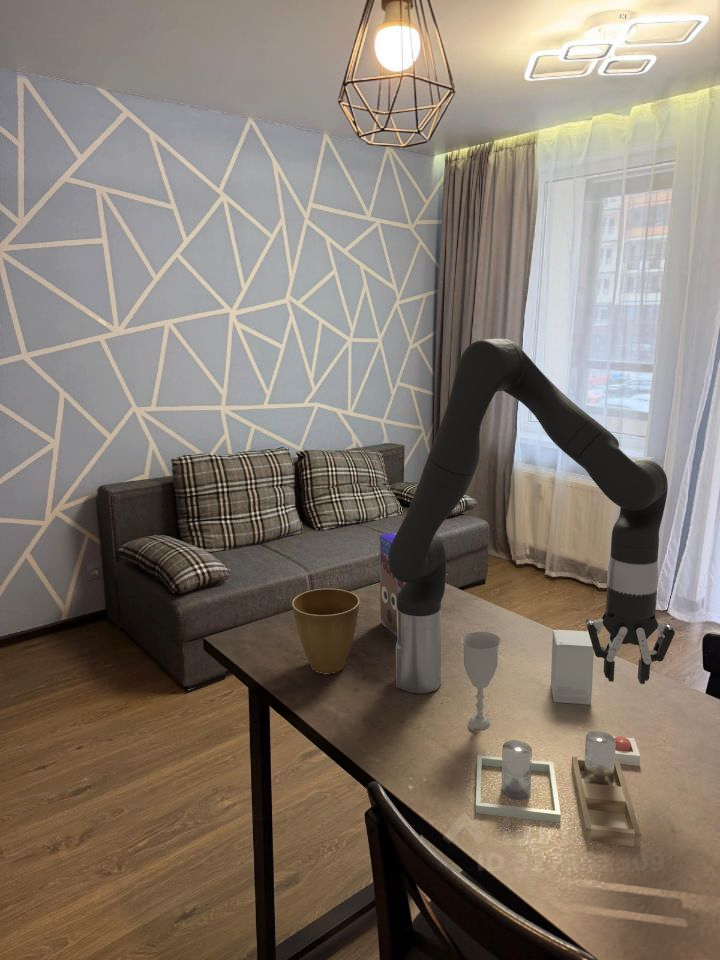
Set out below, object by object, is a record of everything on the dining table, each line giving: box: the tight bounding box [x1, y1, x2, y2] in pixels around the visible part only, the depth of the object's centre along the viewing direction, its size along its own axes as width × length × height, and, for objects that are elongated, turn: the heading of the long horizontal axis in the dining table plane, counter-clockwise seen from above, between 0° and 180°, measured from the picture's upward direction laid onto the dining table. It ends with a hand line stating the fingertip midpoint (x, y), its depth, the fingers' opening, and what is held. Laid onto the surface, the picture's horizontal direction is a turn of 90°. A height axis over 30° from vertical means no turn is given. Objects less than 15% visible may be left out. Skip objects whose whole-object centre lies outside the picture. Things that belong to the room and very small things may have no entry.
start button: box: [614, 735, 630, 752], centre depth 112 cm, size 3×3×2 cm
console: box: [612, 735, 641, 767], centre depth 112 cm, size 5×5×3 cm
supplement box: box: [550, 629, 595, 706], centre depth 132 cm, size 7×7×13 cm
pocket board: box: [571, 755, 642, 848], centre depth 101 cm, size 7×17×3 cm, turn 169°
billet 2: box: [583, 730, 616, 786], centre depth 104 cm, size 4×4×8 cm
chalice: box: [460, 631, 502, 732], centre depth 121 cm, size 7×7×18 cm
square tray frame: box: [475, 754, 562, 823], centre depth 104 cm, size 12×12×2 cm
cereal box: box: [378, 532, 406, 637], centre depth 160 cm, size 17×5×24 cm, turn 25°
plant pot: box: [291, 588, 361, 673], centre depth 146 cm, size 15×15×16 cm
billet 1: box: [501, 739, 533, 801], centre depth 103 cm, size 4×4×8 cm
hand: (625, 680), depth 109 cm, fingers open, 4 cm apart
